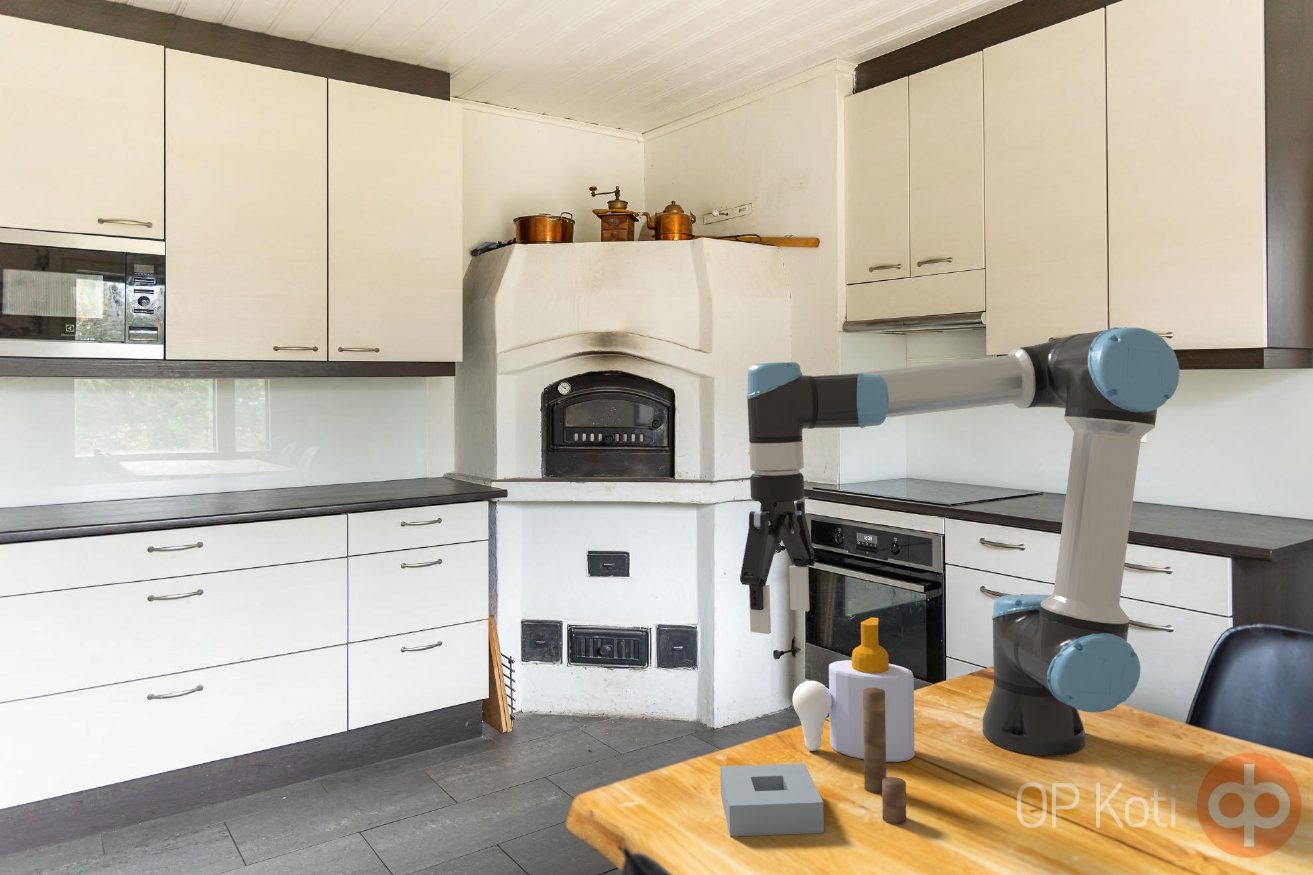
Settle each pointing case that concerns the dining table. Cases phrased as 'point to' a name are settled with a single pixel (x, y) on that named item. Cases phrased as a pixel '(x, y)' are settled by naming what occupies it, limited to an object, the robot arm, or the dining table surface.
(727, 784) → the collar block
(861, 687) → the soap bottle
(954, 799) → the dining table surface
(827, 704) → the lightbulb
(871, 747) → the long pin
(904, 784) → the short pin
